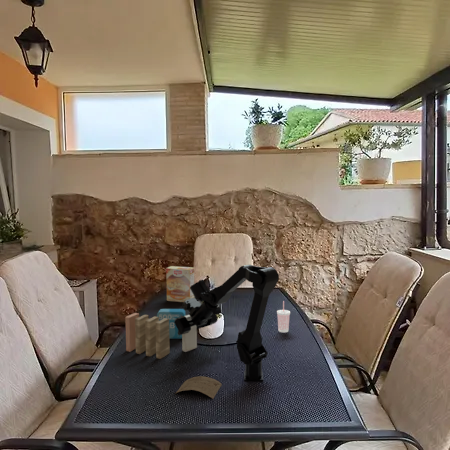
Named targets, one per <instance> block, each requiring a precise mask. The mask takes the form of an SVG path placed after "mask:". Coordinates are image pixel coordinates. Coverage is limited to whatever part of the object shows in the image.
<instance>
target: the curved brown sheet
mask: <svg viewBox="0 0 450 450" xmlns="http://www.w3.org/2000/svg"><path fill="white" fill-rule="evenodd" d="M222 385H223V384H222V383H221V382H220V381H219V380H216V379H214V378H212V377H208V376H202V375H201V376H199V375H198V376H194V377H190V378H188V379H186V380H184V382H183V383H182V384H181V386H180V387H179V388H178V390H177V391H176V392H175V393H174V394H177V393H180V392H182V391H183V392H184V391H191V390H192V391H196V392H200V393H202V394H204V395H206V396H208V397H210V398H211V399H213V400H214V398H215V397H216V396H217V393H218V391H219V390H220V388H221V387H222Z"/></svg>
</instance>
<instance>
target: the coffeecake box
mask: <svg viewBox="0 0 450 450" xmlns="http://www.w3.org/2000/svg"><path fill="white" fill-rule="evenodd" d="M165 272H166V274H165V275H166V301H168V302H178V303H183V302H184V301H186V300H187V299H191V298H195V296H194V295H193V293H192V291H191V289H190V287H191V286H192V285H193V284H195V267H191V266H190V267H189V266H176V265H175V266H174V265H170V266H168V267H166V268H165Z"/></svg>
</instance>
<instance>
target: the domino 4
mask: <svg viewBox="0 0 450 450" xmlns="http://www.w3.org/2000/svg"><path fill="white" fill-rule="evenodd" d="M185 317H186V319H187V320H188V321H189V320H192V319H191V317H190V315H189V314H186V316H185ZM197 330H198V329H197V326H196V325H195V326H192V327H191V330H190V331H189V332H188V333H186V334H182V339H181V341H182V342H181V344H182V346H181V348H182V349H181V350H182V352H185V353H186V352H190V351H192V350H194V349H197V348H198V342H197V341H198V339H197V338H198V336H197V334H198V333H197Z"/></svg>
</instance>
